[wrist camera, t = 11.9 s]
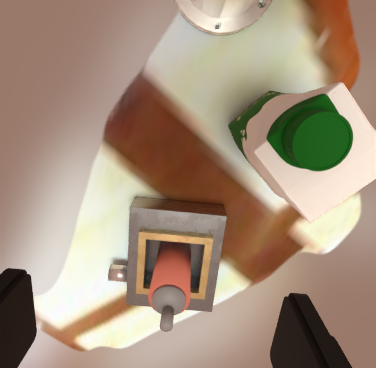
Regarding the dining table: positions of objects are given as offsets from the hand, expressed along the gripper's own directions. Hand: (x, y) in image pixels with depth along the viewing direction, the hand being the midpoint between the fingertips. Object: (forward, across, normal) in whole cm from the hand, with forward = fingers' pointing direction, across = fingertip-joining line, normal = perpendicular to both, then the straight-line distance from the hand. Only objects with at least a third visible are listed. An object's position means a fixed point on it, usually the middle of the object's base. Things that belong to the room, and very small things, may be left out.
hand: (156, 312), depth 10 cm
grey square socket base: (+30, +1, +16) cm, 34 cm away
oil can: (+29, 0, +16) cm, 33 cm away
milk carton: (+30, -11, -4) cm, 32 cm away
